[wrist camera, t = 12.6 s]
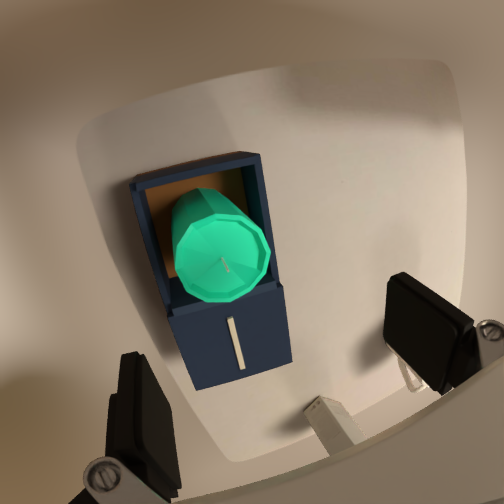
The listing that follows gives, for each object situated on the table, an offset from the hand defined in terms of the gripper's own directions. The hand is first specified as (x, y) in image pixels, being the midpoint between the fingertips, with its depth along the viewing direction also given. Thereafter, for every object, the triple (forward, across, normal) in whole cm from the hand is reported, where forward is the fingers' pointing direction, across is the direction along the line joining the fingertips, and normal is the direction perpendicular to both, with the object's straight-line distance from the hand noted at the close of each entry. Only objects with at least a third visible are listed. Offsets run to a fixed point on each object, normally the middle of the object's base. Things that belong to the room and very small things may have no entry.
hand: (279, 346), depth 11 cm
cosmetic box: (+21, -11, +35) cm, 42 cm away
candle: (+20, 0, +1) cm, 20 cm away
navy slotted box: (+21, +1, +5) cm, 22 cm away
